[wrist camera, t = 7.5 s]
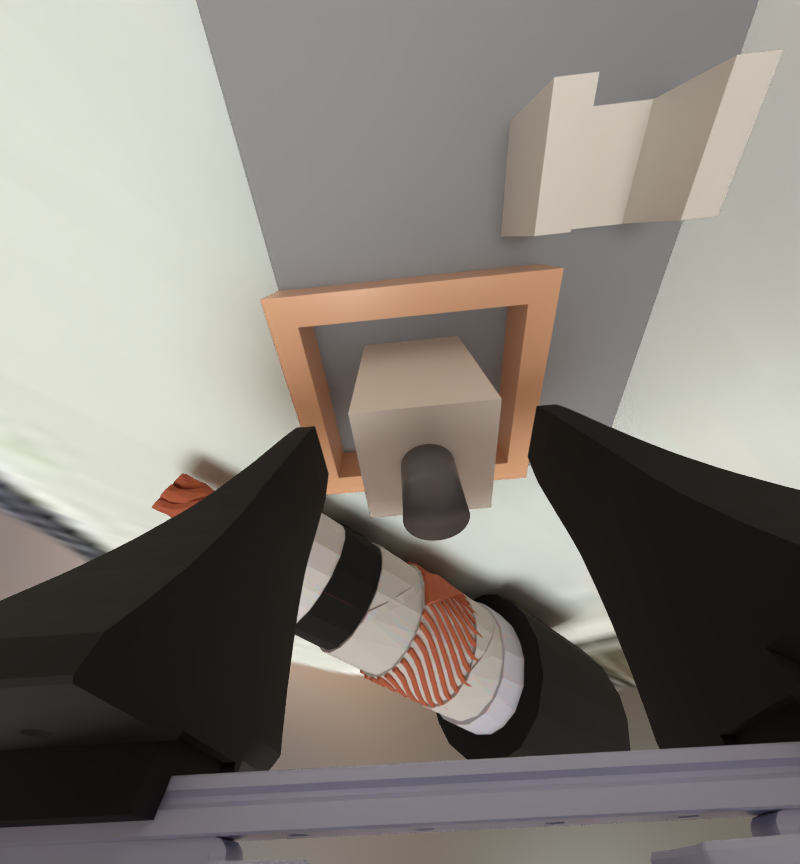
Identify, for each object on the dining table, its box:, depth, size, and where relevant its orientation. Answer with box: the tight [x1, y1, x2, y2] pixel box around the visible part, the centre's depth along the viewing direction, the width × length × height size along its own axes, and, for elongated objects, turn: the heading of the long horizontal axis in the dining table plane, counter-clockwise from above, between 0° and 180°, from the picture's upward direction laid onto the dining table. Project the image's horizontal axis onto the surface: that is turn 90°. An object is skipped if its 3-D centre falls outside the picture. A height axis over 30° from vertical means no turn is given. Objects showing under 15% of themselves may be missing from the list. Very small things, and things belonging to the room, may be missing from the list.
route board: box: [196, 0, 758, 465], centre depth 11 cm, size 15×24×1 cm, turn 5°
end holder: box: [260, 264, 564, 495], centre depth 13 cm, size 10×9×2 cm
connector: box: [348, 336, 502, 541], centre depth 11 cm, size 4×4×8 cm
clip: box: [501, 49, 784, 237], centre depth 9 cm, size 5×3×3 cm, turn 95°
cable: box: [152, 474, 630, 760], centre depth 20 cm, size 10×34×10 cm, turn 46°
